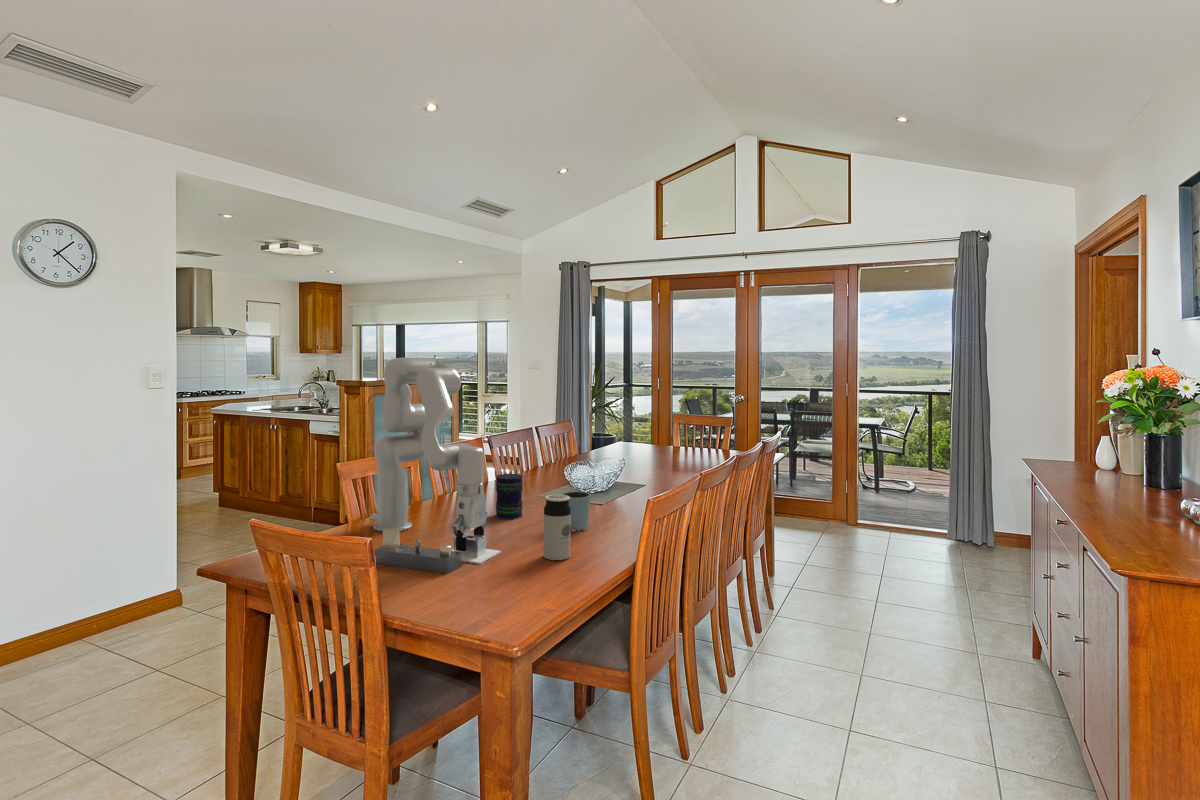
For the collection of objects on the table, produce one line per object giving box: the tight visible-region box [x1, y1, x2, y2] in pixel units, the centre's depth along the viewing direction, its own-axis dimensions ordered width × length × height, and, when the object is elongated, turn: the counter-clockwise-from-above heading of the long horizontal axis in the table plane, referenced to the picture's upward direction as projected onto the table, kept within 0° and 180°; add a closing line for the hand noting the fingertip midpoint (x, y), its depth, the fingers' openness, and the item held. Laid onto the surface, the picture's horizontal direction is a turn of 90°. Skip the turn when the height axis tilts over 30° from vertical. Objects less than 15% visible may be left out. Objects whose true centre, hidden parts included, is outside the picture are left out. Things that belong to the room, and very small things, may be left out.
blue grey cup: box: [560, 490, 592, 530], centre depth 222 cm, size 10×10×12 cm
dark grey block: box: [374, 528, 463, 575], centre depth 181 cm, size 24×7×9 cm, turn 70°
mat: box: [451, 548, 502, 565], centre depth 190 cm, size 14×12×1 cm
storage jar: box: [495, 473, 524, 520], centre depth 238 cm, size 10×10×15 cm
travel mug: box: [542, 494, 572, 561], centre depth 190 cm, size 8×8×18 cm
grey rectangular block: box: [453, 533, 487, 558], centre depth 190 cm, size 8×5×5 cm, turn 70°
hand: (470, 545), depth 190 cm, fingers open, 9 cm apart
